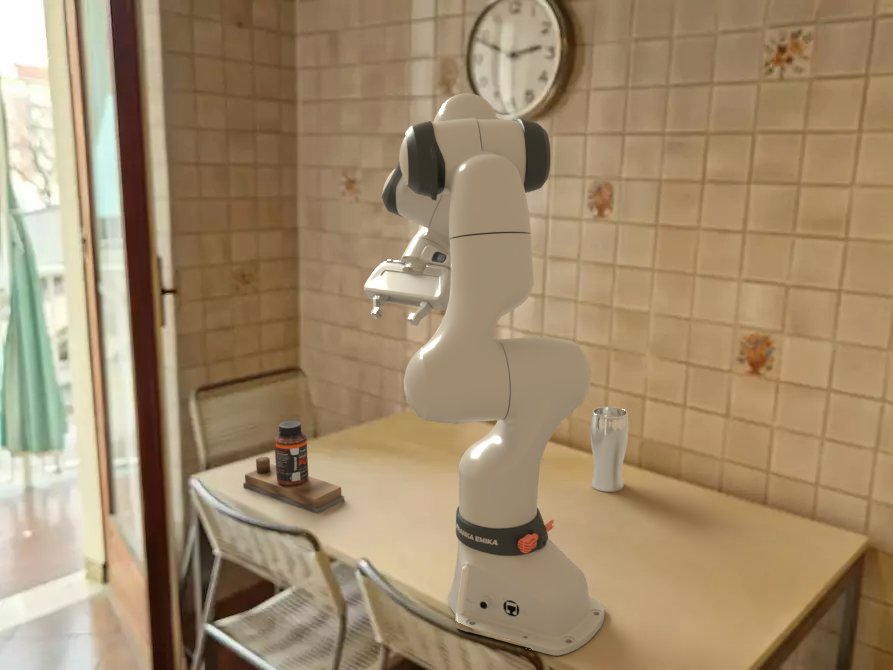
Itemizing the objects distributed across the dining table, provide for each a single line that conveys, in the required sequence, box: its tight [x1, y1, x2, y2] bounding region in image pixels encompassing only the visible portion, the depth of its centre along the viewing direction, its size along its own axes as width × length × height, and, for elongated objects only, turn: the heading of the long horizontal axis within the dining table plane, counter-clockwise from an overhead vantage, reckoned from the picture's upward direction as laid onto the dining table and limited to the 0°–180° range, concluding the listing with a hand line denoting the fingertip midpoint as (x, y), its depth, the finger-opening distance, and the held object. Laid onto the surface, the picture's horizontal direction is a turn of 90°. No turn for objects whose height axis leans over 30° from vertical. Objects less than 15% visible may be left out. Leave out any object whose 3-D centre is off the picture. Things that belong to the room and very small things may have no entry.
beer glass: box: [590, 405, 629, 493], centre depth 158 cm, size 7×7×15 cm
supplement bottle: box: [274, 420, 309, 486], centre depth 156 cm, size 6×6×11 cm
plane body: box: [242, 456, 345, 514], centre depth 157 cm, size 20×7×5 cm, turn 53°
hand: (392, 320), depth 159 cm, fingers open, 8 cm apart
